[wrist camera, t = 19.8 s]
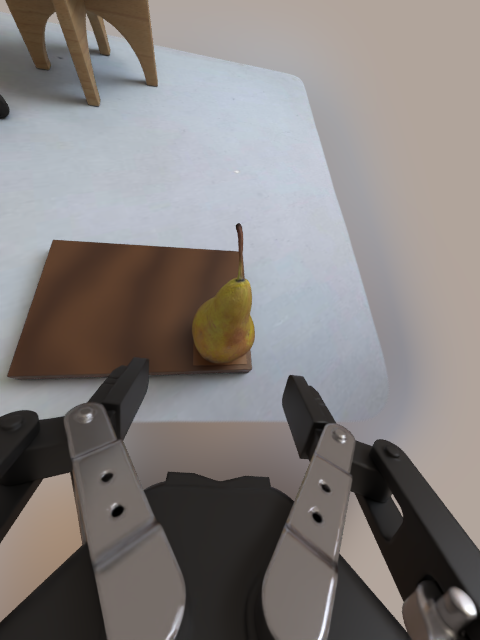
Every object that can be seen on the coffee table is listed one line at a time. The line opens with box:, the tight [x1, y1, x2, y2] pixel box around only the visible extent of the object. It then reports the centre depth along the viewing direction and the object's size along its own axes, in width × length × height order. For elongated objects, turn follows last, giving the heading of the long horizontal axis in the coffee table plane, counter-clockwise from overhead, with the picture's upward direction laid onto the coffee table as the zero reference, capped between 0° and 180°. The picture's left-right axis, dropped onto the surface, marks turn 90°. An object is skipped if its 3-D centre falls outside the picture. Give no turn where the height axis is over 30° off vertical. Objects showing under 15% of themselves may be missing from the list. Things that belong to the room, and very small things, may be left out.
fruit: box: [192, 223, 255, 363], centre depth 17 cm, size 6×6×12 cm
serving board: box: [7, 240, 252, 380], centre depth 23 cm, size 20×14×2 cm
